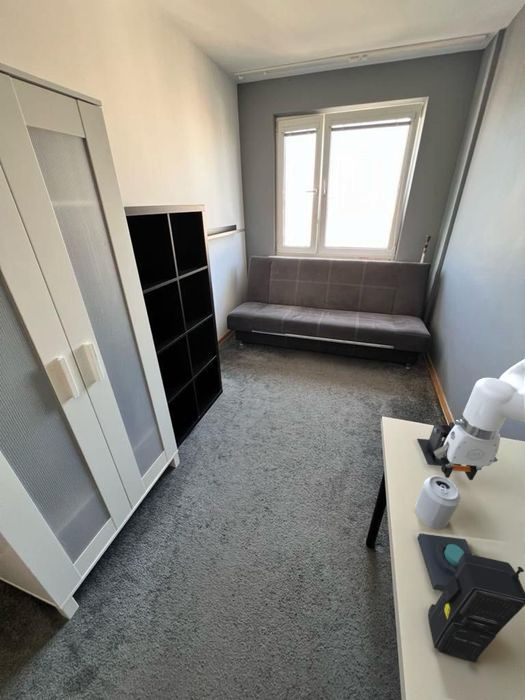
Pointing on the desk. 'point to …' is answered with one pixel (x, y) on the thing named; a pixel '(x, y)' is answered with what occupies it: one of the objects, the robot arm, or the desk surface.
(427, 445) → the kettle bracket
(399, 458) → the desk surface
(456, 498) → the can
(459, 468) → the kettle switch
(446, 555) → the socket button
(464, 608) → the portable radio
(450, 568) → the socket block
